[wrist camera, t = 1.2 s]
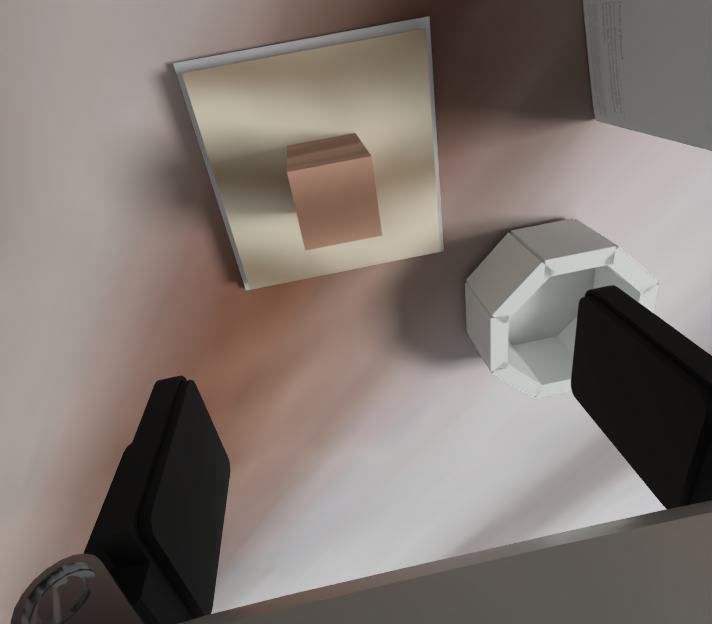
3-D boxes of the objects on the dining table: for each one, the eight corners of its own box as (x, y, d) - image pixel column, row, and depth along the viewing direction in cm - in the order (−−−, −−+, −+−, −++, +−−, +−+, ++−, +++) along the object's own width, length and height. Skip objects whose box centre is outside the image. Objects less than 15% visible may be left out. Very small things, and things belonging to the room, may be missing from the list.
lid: (185, 72, 25) (153, 83, 19) (421, 28, 25) (462, 26, 19) (251, 282, 32) (242, 339, 26) (436, 246, 32) (470, 293, 26)
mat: (174, 62, 25) (172, 63, 25) (427, 16, 25) (429, 16, 25) (246, 287, 32) (245, 290, 32) (441, 248, 33) (443, 251, 32)
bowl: (461, 237, 32) (490, 271, 28) (615, 206, 33) (670, 235, 28) (465, 362, 38) (490, 407, 34) (596, 335, 39) (639, 376, 34)
